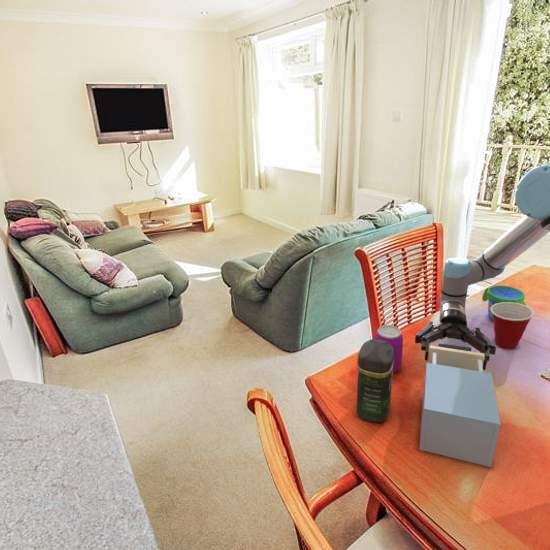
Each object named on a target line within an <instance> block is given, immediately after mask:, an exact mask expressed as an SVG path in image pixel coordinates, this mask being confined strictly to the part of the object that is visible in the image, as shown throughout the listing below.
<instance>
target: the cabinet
mask: <svg viewBox="0 0 550 550" xmlns="http://www.w3.org/2000/svg"><path fill="white" fill-rule="evenodd" d="M423 383H424V385H423V393H422V404H421V416H420V417H421V419H420V435H419V451H423V452H427V453H431V454H434V455H435V454H436V455H441V456H443V457H448V458H453V459H455V460H456V459H457V460H459V461H465V462H469V463H473V464H476V465H479V466H485V467H488V468H492V465H493V460H494V456H495V452H496V447H497V442H498V438H499V434H500V430H501V426H502V423H501V417H500V411H499V406H498V401H497V396H496V391H495V390H496V389H495V383H494V378H493V374H492V373H491V372H485V371H483V372H480V371H474V370H468V369H462V368H456V367H450V366H444V365H438V364H431V363H428V362H426V365H425V375H424V382H423Z"/></svg>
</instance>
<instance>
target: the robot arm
mask: <svg viewBox="0 0 550 550" xmlns="http://www.w3.org/2000/svg"><path fill="white" fill-rule="evenodd" d="M514 199H515V204H516V207H517V208H518V210H519V211H520V213H521V214H523V215H524V216H522V217H521V218H520V219H519V220H518V221H517V222H516V223H515V224H514V225H513V226H511V227H510V228H509V229H508V230H507V231H505V232H504V234H502V235H501V236H500V237H499V238H498V239H497V240H496V241H495V242H494V243H492V244H491V245H490V246H488V248H487V249H486V250H485V251H484V252H483V253H481V254H480V255H479V256H478V257H476V258H473V259H470V260H469V259H468V258H465V257H458V256H457V257H450V258H447V259H446V260H445V262H444V266H443V268H444V269H443V271H442V280H441V281H442V283H441V290H440V295H439V300H438V302H439V323H438V324H435V323H434V322H433V321H428V322H427V323H428V324H427V325H426V326H425V327H423V328H422V329H421V330H419V331H418V332H417V333H416V334H415V337H414V344H420V345H421V346H420V350H421V351H423V352H424V361H427V362H428V359H429V350H430V344H432V343H435V342H436V341H439V340H445V339H446V338H447V339H454V340H457V341H458V340H460V341H461V342H462V343H467V344H468V345H469V346H471V348H474V349H475V350H477V352H479V353H484V355H485V358H484V363H483V371H486V369H487V363H488V361H490V358H491V355H492V356H495V355H496V351H497V344H496V343H495V342H493V341H492V340H491V339H489V337H488V336H487V335H485V334H484V333H483V332H482V330H481V328H480V327H479V326H478V327H477V326H476V327H475V328H474V329H471V328H469V327H468V321H467V311H466V302H467V297H468V296H467V295H468V290H469V286H472V285H474V284H477V283H478V284H479V283H481V282H483V281H486V280H489V279H494V278H496V277H497V276H500V275H502V274H503V273H504V271H505V268H506V267H507V266H508V265H510V264H511V263H512V262H513V261H515V260H516V259H517V258H519V256H521V255H522V254H524V253H525V252H526V251H528V250H529V249H530V248H531V247H532V246H534V245H535V244H536V243H538V242H539V241H540V240H542V239H543V238H544V237H545V236H547V235H548V234H549V233H550V162H547V163H543V164H542V165H539V166H535V167H534V168H531V169H530V170H527V172H525V173H524V174H523V176H522V177H521V178H520V180H519V181H518V183H517V186H516V190H515V193H514Z"/></svg>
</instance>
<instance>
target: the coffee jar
mask: <svg viewBox="0 0 550 550" xmlns="http://www.w3.org/2000/svg"><path fill="white" fill-rule="evenodd" d="M393 356H394V350H393V347H392V346H391V345H390V344H389V343H388V342H386V341H381V340H376V339H375V338H371V339H369V340H366V341H364V343H363V344H362V345H361V347H360V349H359V351H358V354H357V382H356V384H357V385H356V386H357V387H356V406H355V407H356V409H355V411H356V415H357V416H359V417H360V418H361V419H363V420H365V421H368V422H371V423H381V422H385V421H386V420H387V418H388V416H389V413H390V410H391V399H392V398H391V397H392V386H393V373H394V372H393V360H394V359H393Z"/></svg>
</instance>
